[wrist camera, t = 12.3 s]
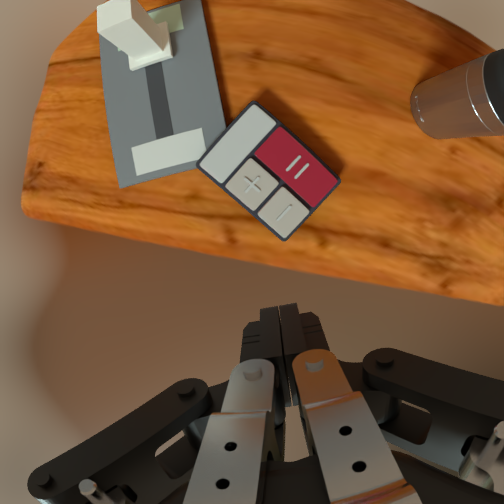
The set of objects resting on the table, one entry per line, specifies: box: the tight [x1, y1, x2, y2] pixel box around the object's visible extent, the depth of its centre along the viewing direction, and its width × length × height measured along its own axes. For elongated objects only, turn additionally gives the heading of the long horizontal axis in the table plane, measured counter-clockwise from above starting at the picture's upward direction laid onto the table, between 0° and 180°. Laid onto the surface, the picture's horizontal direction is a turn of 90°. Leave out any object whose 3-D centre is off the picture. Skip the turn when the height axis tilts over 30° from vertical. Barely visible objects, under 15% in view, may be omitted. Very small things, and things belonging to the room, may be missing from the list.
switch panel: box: [99, 0, 227, 188], centre depth 35 cm, size 16×26×2 cm, turn 11°
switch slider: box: [97, 0, 173, 71], centre depth 26 cm, size 6×6×12 cm
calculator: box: [196, 101, 341, 241], centre depth 37 cm, size 11×4×15 cm
